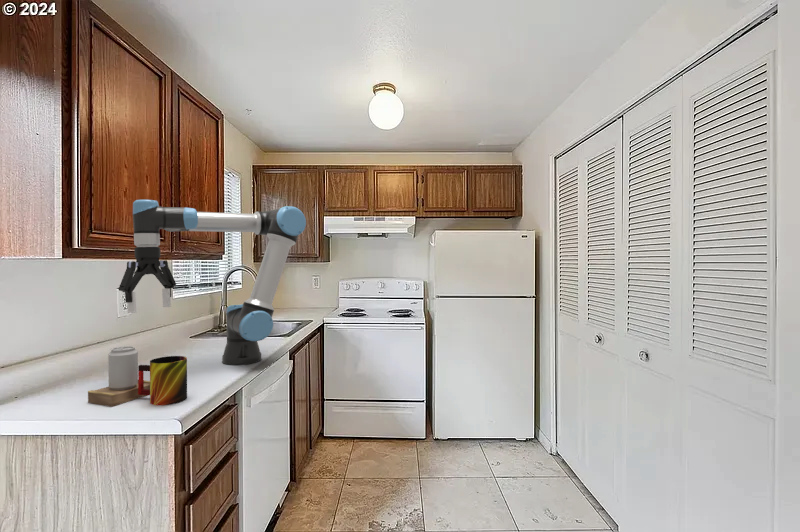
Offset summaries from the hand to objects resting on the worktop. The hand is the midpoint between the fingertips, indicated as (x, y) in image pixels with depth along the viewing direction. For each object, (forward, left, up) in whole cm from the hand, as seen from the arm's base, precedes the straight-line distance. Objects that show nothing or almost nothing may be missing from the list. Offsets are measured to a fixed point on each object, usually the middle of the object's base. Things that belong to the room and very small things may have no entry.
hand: (150, 309), depth 147 cm
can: (+15, +7, -22) cm, 27 cm away
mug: (+13, +20, -25) cm, 34 cm away
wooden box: (+15, +7, -25) cm, 29 cm away
